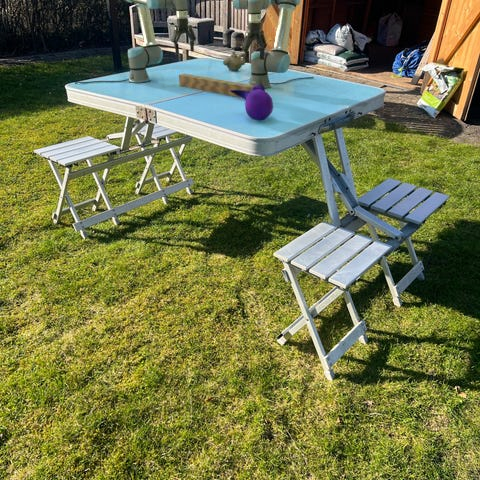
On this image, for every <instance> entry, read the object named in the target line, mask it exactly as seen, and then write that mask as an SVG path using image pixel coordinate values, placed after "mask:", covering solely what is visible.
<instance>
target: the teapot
mask: <svg viewBox="0 0 480 480" xmlns="http://www.w3.org/2000/svg"><path fill="white" fill-rule="evenodd" d="M241 59H242V60H241ZM222 65H224V66H225V67H227V69H228V71H229V72H237V71H239V70H240V69H241V68H242V67H243V66H244V65H246V63H245V52H242V53H240V54H237V53H236V51H232V52H231V55H230V57H226V58H224V59H223V61H222Z"/></svg>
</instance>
